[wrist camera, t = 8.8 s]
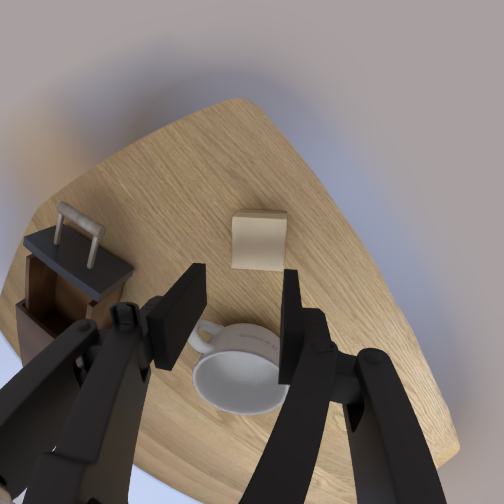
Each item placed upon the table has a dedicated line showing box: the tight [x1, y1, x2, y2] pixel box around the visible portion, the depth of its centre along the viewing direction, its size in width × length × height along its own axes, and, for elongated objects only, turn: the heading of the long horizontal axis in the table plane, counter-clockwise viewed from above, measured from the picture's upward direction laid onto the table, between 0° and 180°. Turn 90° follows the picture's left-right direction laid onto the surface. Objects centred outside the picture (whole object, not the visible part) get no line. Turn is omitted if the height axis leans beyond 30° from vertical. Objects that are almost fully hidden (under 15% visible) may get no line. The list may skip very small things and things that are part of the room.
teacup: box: [188, 319, 289, 415], centre depth 31 cm, size 14×11×8 cm
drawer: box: [23, 201, 134, 336], centre depth 30 cm, size 22×13×8 cm, turn 153°
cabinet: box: [15, 299, 82, 367], centre depth 34 cm, size 18×15×10 cm
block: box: [231, 209, 287, 272], centre depth 28 cm, size 5×5×5 cm
